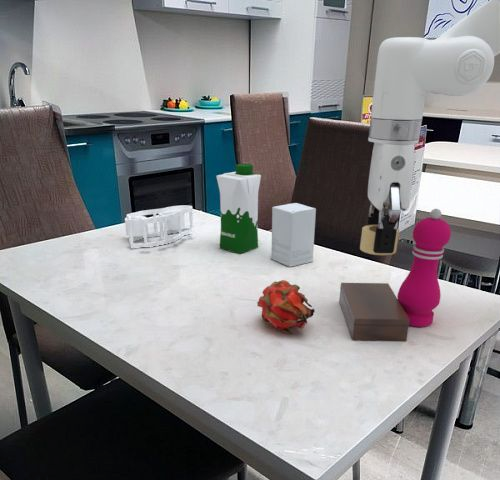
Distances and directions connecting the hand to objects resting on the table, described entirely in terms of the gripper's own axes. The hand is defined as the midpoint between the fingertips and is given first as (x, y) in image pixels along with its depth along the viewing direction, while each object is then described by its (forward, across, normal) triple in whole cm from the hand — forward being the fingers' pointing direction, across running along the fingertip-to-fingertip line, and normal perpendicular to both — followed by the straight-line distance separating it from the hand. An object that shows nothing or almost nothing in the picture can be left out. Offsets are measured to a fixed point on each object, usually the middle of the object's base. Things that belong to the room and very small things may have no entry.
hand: (378, 245), depth 85 cm
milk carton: (+14, +41, +25) cm, 50 cm away
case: (+14, 0, 0) cm, 14 cm away
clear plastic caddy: (+14, +48, +46) cm, 68 cm away
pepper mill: (+14, 0, -8) cm, 16 cm away
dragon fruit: (+14, -3, +15) cm, 21 cm away
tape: (+1, 0, 0) cm, 1 cm away
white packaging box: (+14, +32, +12) cm, 37 cm away
